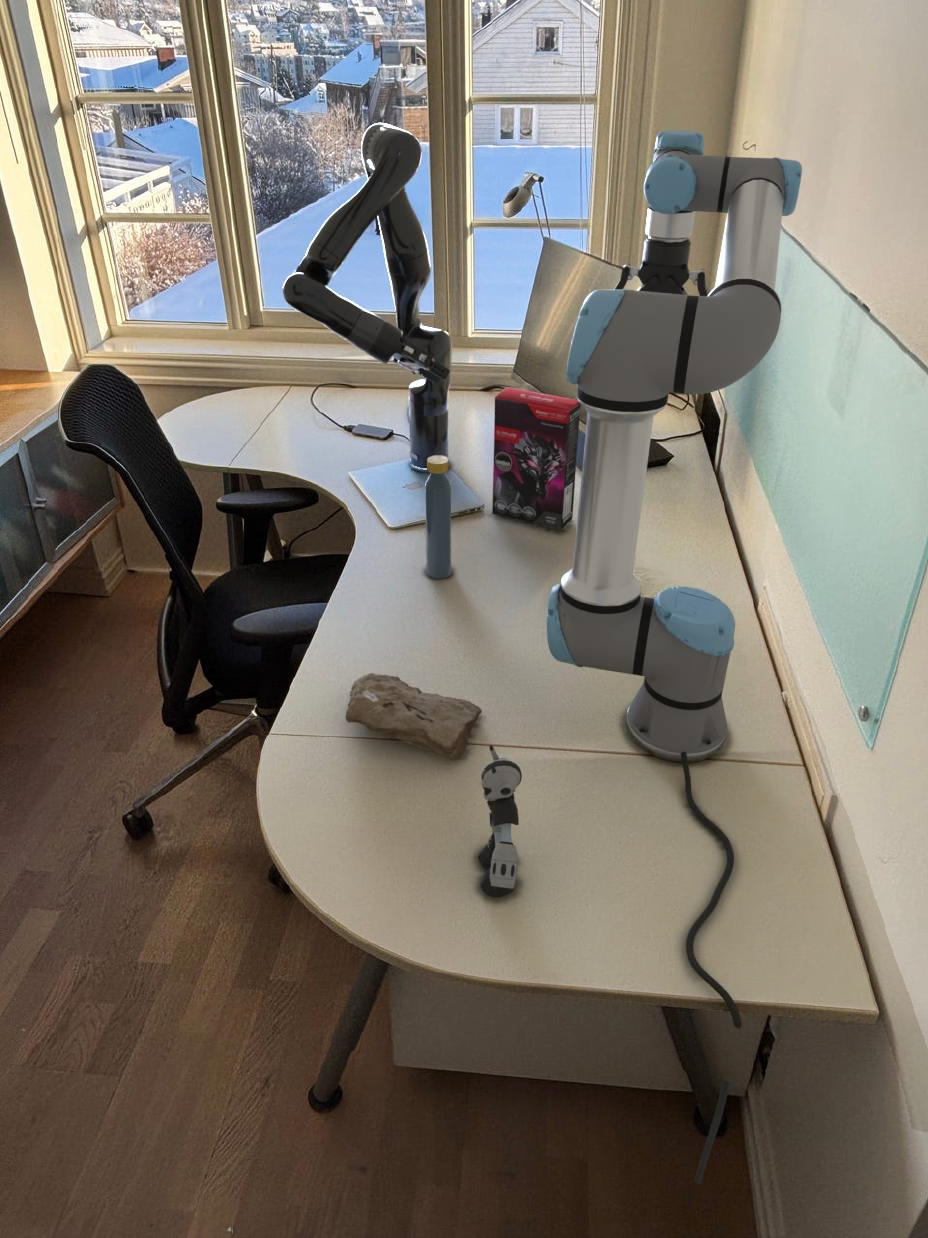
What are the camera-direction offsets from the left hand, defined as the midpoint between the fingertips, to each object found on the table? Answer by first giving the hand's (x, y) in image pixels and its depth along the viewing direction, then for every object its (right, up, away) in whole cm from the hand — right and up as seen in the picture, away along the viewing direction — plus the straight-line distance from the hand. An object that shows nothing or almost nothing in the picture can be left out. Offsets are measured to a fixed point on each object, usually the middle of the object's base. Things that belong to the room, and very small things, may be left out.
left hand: (443, 377), depth 191 cm
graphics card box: (+19, -28, +11) cm, 36 cm away
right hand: (+38, -5, -28) cm, 47 cm away
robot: (+9, -83, -71) cm, 110 cm away
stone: (-4, -67, -48) cm, 82 cm away
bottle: (-1, -41, -9) cm, 42 cm away
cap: (-1, -21, -22) cm, 30 cm away
